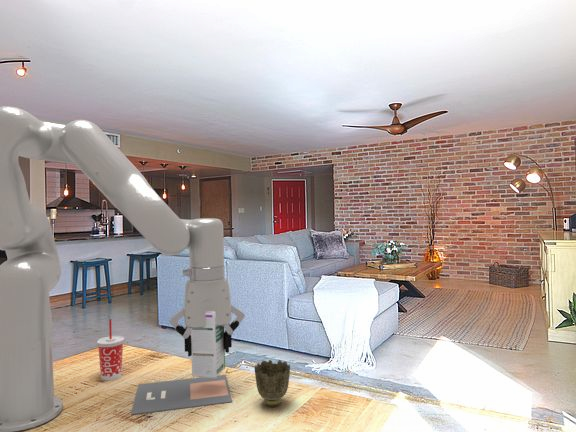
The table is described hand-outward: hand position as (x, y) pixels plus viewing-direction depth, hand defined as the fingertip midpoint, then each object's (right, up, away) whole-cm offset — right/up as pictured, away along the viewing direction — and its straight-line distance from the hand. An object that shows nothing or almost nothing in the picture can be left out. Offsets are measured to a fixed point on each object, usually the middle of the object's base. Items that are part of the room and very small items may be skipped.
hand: (208, 352), depth 91 cm
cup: (+15, -9, -6) cm, 18 cm away
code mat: (-5, -9, -1) cm, 10 cm away
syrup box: (0, -5, 0) cm, 5 cm away
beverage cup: (-25, -9, +8) cm, 28 cm away
